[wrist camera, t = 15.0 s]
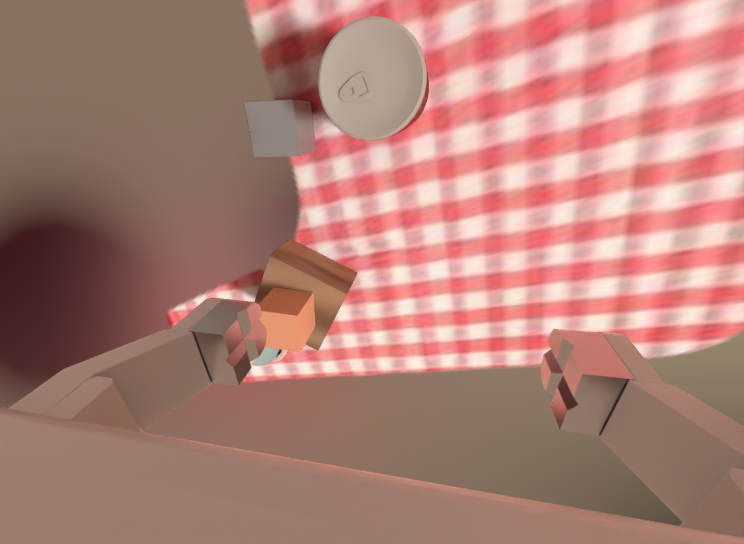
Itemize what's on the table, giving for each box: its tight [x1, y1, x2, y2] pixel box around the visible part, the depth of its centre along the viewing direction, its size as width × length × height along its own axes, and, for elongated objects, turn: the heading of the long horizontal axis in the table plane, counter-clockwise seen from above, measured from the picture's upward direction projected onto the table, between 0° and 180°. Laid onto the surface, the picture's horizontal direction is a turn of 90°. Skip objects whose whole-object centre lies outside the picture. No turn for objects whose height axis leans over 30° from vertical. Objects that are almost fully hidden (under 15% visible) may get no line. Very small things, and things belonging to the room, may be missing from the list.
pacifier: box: [250, 347, 287, 366], centre depth 48 cm, size 7×6×6 cm
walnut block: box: [255, 238, 357, 350], centre depth 42 cm, size 10×10×6 cm
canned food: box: [318, 16, 429, 141], centre depth 27 cm, size 8×8×11 cm
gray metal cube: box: [244, 99, 316, 157], centre depth 33 cm, size 5×5×5 cm
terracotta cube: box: [259, 287, 315, 352], centre depth 37 cm, size 5×5×5 cm
